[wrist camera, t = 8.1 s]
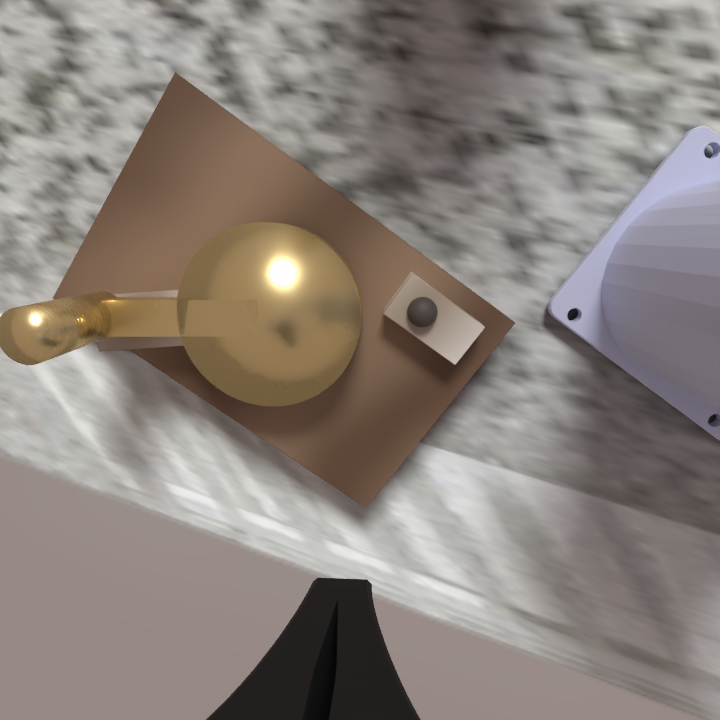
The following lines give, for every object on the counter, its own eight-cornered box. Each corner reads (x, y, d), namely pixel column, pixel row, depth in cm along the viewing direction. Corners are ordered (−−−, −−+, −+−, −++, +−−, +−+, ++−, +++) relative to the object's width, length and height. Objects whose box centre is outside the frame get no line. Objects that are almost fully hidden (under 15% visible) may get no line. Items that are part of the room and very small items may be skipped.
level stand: (503, 314, 20) (527, 331, 16) (359, 494, 22) (353, 543, 19) (197, 89, 19) (153, 55, 15) (77, 304, 21) (14, 319, 17)
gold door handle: (362, 221, 17) (352, 217, 13) (363, 393, 19) (356, 442, 14) (78, 225, 18) (-25, 222, 13) (101, 392, 19) (15, 438, 15)
